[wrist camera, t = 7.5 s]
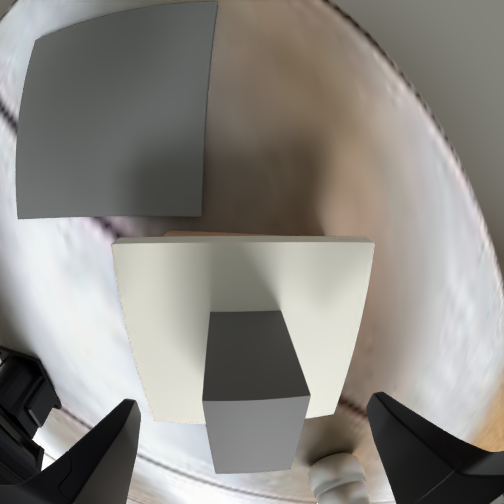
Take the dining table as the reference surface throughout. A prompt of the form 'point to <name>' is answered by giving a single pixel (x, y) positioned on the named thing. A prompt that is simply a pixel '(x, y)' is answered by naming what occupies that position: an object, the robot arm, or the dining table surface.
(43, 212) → the mat
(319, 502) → the plastic bottle
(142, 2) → the dining table surface
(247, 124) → the dining table surface
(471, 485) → the robot arm
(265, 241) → the lid
